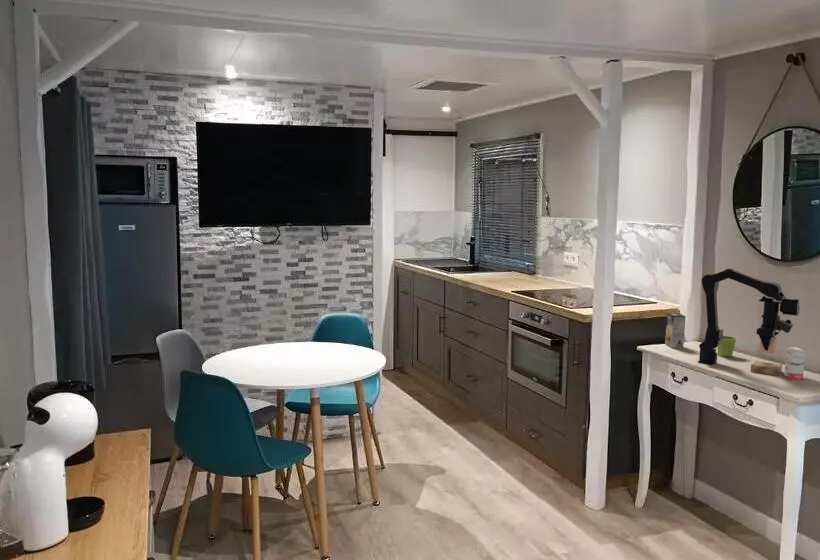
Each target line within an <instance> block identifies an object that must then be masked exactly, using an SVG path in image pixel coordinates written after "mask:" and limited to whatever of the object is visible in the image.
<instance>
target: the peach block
mask: <svg viewBox="0 0 820 560" xmlns="http://www.w3.org/2000/svg"><path fill="white" fill-rule="evenodd" d="M759 347H760V348H759V352H760V353H765V354H766V353H768V354H774V353H776V349H777V337H776V336H775V337H772V338H771V341H770V344H769V348H768V350H765V349H764V347H763V344H762V341H761V340H760V345H759Z"/></svg>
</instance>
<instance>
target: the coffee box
mask: <svg viewBox="0 0 820 560" xmlns="http://www.w3.org/2000/svg"><path fill="white" fill-rule="evenodd" d="M665 324H666V325H665V340H664V343H665V346H667V347H669V348H670V349H684V345H685V344H684V343H685V329H686V328H685V327H686V316H685V315H684V314H681V313H679V312H678V313H677V312H676V313H675V312H667V313H666V323H665Z"/></svg>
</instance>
